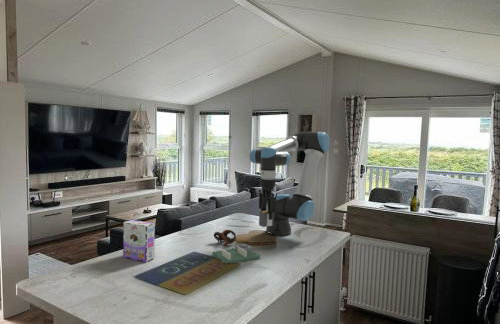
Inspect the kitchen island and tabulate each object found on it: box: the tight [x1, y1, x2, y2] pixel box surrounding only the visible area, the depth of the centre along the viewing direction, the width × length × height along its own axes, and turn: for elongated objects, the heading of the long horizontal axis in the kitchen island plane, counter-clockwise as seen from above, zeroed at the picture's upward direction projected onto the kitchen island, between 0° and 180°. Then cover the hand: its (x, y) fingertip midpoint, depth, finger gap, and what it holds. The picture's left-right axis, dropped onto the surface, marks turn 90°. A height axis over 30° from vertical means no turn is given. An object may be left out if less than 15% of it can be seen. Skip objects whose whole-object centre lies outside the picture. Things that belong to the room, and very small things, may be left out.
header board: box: [212, 243, 261, 264], centre depth 160 cm, size 18×14×4 cm
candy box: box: [122, 219, 156, 263], centre depth 152 cm, size 14×6×16 cm, turn 65°
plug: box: [258, 210, 274, 228], centre depth 170 cm, size 6×4×8 cm, turn 121°
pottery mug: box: [213, 229, 237, 247], centre depth 178 cm, size 12×10×8 cm
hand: (266, 224), depth 170 cm, fingers closed on plug, 4 cm apart
